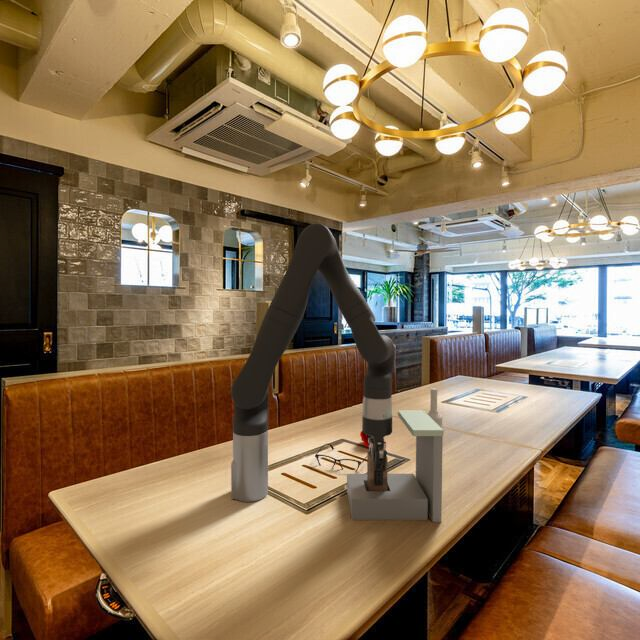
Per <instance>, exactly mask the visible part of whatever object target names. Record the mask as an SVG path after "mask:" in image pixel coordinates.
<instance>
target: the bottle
mask: <svg viewBox="0 0 640 640" xmlns="http://www.w3.org/2000/svg"><path fill="white" fill-rule="evenodd" d="M429 406H430V409H429V411H428V412H426V413H427V414H428V415H429V416H430V417H431V418H432V419H433V420H434V421H435V422H436V423H437V424H438V425H439V426H440V427H441V428H442V429H443V416H442V415H441V413H439V410H438V388H437V387H436V388H435V387H433V388H432V387H431V388H430V405H429Z"/></svg>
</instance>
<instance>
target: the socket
mask: <svg viewBox="0 0 640 640" xmlns="http://www.w3.org/2000/svg"><path fill="white" fill-rule="evenodd" d="M346 493H347V494H346V495H347V500H348V501H347V502H348V505H349V513H350V518H351V521H399V520H400V521H405V520H406V521H407V520H408V521H409V520H410V521H411V520H413V521H417V520H418V521H423V520H424V521H425V520H428V499H427V497H426V495H425V494H424V492H423V490H422V488H421V487H420V485H419V483H418V481H417V480H416V475H415V474H414V473H387V491H368V490H367V473H346Z"/></svg>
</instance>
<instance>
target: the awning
mask: <svg viewBox="0 0 640 640" xmlns="http://www.w3.org/2000/svg"><path fill="white" fill-rule="evenodd" d="M427 413H428V412H426V411H425V410H422V409H419V410H415V409H414V410H413V409H412V410H411V409H409V410H408V409H407V410H403V409H402V410H401V409H400V410H397V416H398V418H399V419H400V420H401V422H402V423H403V424H404V426H405V427H406V429H407V430H408V431H409V433H410V434H411V435H412V436H413V437H416V438H415V478H416V480H417V481H418V483H419V485H420V487H421V488H422V490H423V492H424V494H425V495H426V497H427V499H428V512H427V515H428V516H429V517H430V519H431V521H432V523H442V510H443V509H442V506H443V505H442V503H443V501H442V500H443V499H442V498H443V496H442V495H443V492H442V490H443V439H444V438H443V437H444V429H443V427H442V428H441V427H440V426H439V425H438V424H437V423H436V422H435V421H434V420H433V419H432V418H431V417H430V416H429V415H428V414H427Z"/></svg>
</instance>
